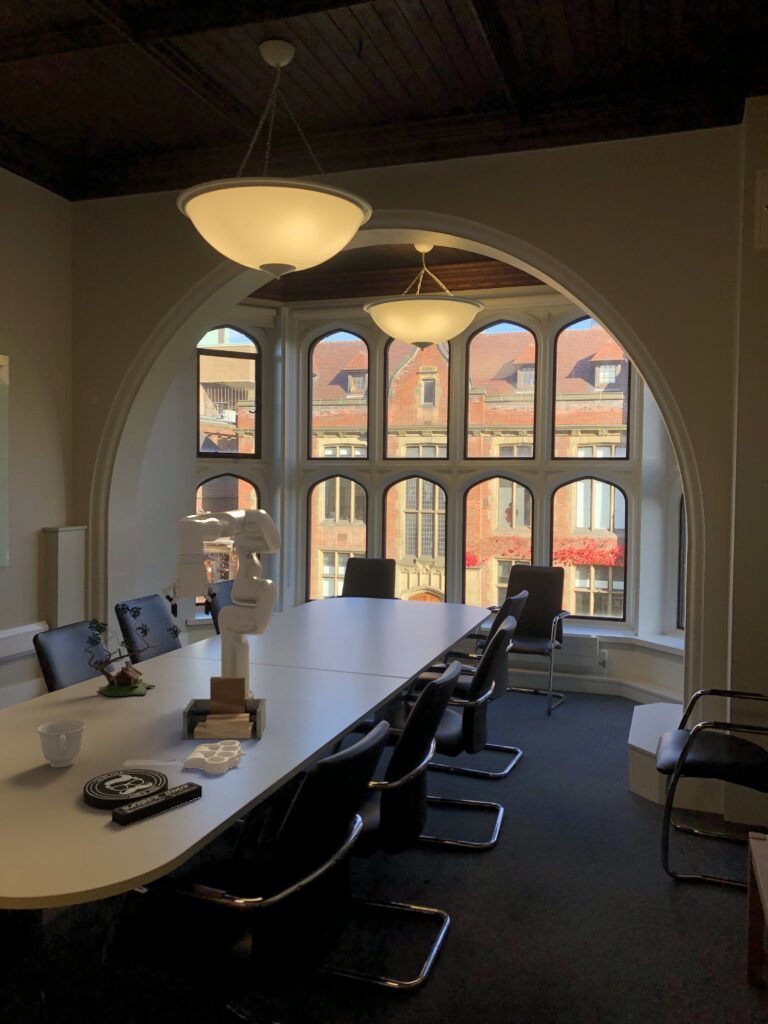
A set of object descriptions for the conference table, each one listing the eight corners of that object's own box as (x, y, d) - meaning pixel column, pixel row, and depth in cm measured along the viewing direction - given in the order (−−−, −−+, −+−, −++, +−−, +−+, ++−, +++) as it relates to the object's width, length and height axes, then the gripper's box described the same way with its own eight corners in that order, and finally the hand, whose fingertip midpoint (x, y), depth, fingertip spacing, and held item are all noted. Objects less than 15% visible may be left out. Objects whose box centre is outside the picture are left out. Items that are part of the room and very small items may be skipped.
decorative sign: (203, 798, 192) (141, 773, 208) (203, 786, 192) (141, 762, 208) (123, 828, 176) (63, 798, 191) (122, 816, 175) (62, 787, 191)
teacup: (37, 778, 203) (36, 739, 202) (36, 759, 216) (36, 722, 216) (88, 772, 207) (88, 733, 207) (84, 753, 221) (84, 717, 221)
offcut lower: (198, 730, 238) (198, 722, 237) (253, 730, 238) (253, 721, 238) (194, 738, 231) (194, 729, 230) (250, 738, 231) (250, 729, 231)
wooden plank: (211, 726, 241) (211, 676, 241) (245, 726, 242) (245, 676, 241) (210, 728, 239) (210, 678, 239) (244, 728, 240) (244, 678, 239)
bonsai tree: (68, 703, 268) (67, 608, 267) (94, 684, 293) (93, 597, 291) (174, 704, 269) (174, 609, 267) (191, 685, 293) (191, 598, 292)
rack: (192, 729, 242) (191, 699, 242) (265, 728, 243) (265, 698, 243) (183, 743, 229) (182, 711, 229) (261, 743, 230) (261, 711, 230)
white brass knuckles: (199, 751, 225) (251, 752, 224) (180, 775, 207) (236, 776, 206) (199, 739, 225) (251, 740, 224) (180, 762, 207) (236, 763, 206)
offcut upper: (207, 723, 236) (207, 715, 236) (249, 721, 238) (249, 713, 238) (205, 730, 230) (205, 721, 230) (248, 728, 232) (248, 720, 232)
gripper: (216, 557, 254) (216, 611, 255) (159, 559, 247) (160, 615, 247) (221, 559, 247) (222, 615, 248) (164, 562, 240) (164, 619, 241)
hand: (191, 615), depth 248 cm, fingers open, 9 cm apart
